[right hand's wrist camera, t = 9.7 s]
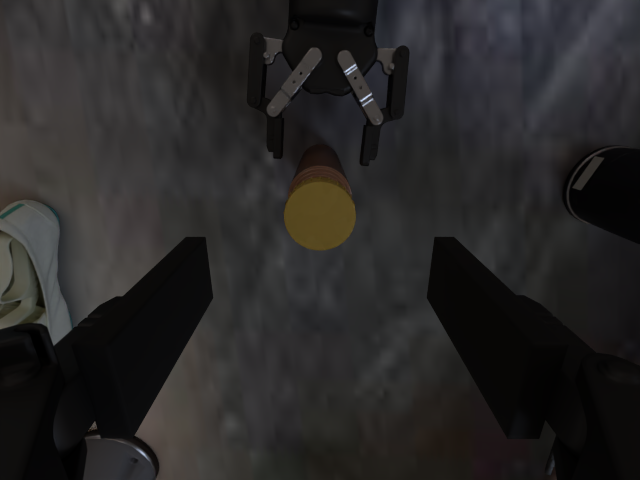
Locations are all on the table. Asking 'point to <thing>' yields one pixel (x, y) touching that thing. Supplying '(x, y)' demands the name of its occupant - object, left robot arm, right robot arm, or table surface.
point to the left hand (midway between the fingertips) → (321, 161)
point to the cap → (319, 213)
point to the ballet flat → (31, 269)
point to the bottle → (320, 166)
